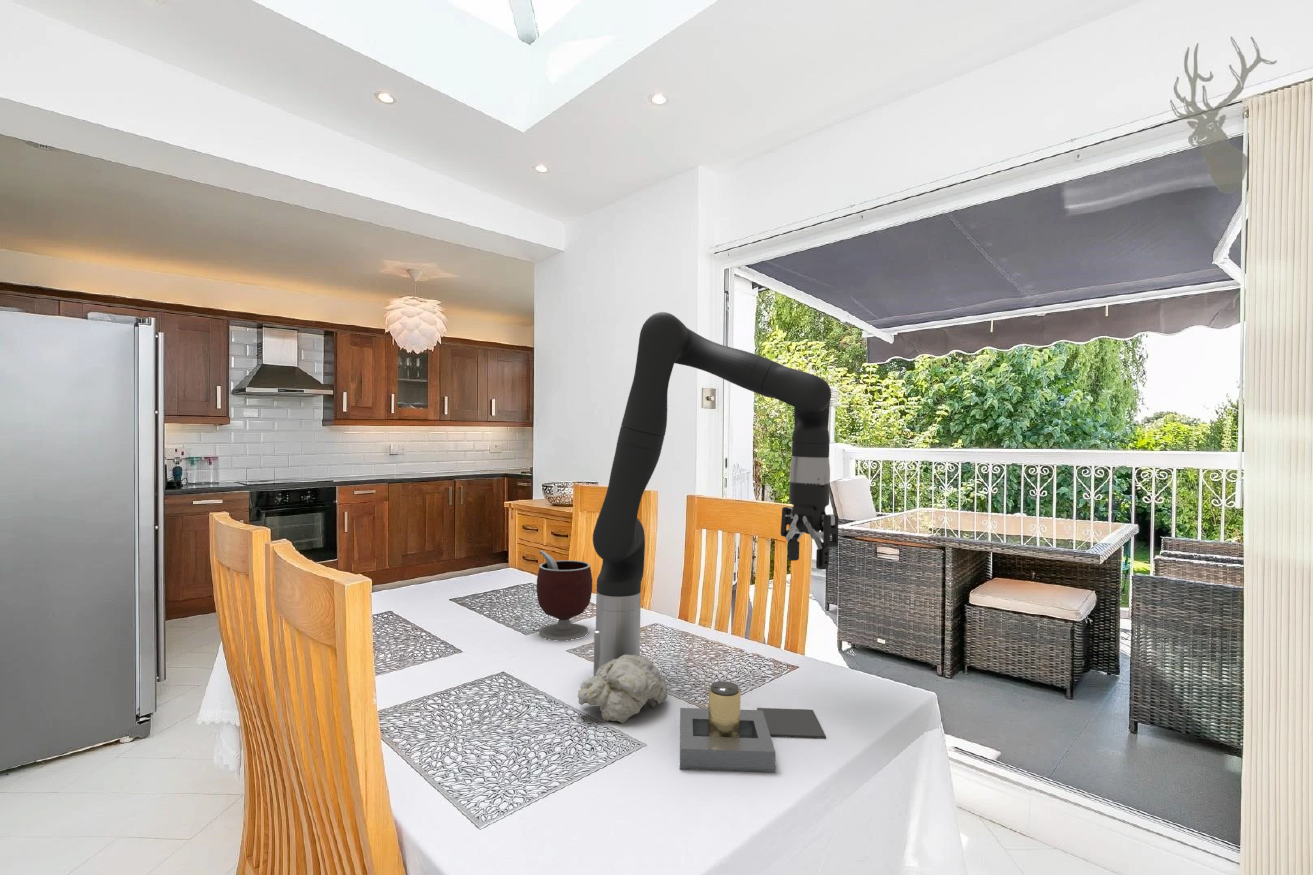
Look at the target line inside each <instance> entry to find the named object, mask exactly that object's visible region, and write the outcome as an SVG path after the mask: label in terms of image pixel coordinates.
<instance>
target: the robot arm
mask: <svg viewBox="0 0 1313 875" xmlns="http://www.w3.org/2000/svg"><path fill="white" fill-rule="evenodd" d="M635 361H636V362H635V368H634V370H635V371H634V375H633V379H632V383H631V387H630V390H629V395H628V398H627V402H626V406H625V409H624V413H623V417H622V420H621V421H622V422H621V424H620V428H619V431H618V432H619V433H618V436H617V441H616V445H615V446H616V448H615V450H614V451H615V453H614V456H613V461H612V466H611V469H610V475H609V481H608V486H607V490H606V494H605V496H604V497H605V498H604V500H603V503H602V506H601V507H600V508H601V509H600V512H599V515H598V518H597V519H596V522H595V526H594V529H593V531H592V532H593V533H592V544H593V548H594V551H595V553H596V555H598V557H599V558H600V559H602V564H601V568H600V572H599V574H598V576H597V579H596V596H595V600H596V602H595V603H596V604H595V607H596V608H595V629H594V632H593V633H594V634H593V635H594V636H593V676H595V675H596V673H597V670H598V669H599V668H600V667H601V666H603V665H605V664H606V663H608V662H610V661H611V660H613V659H618V658H619V657H621V656H623V655H625V654H626V655H636V656H639V655H640V654H641V604H642V603H641V602H642V601H641V600H642V599H641V598H642V597H641V596H642V593H641V592H642V588H641V587H642V580H643V577H644V572H645V571H644V570H645V550H646V548H645V546H646V536H645V535H646V534H645V530H644V527H643V524H642V522H641V521H640V520H639V519H638V514H639V510H640V506H641V501H642V498H643V495H644V493H645V490H646V487H647V486H648V484H649V482H650V480H651V478H652V476H653V474H654V472H655V469H656V467H657V464H658V462H659V459H660V456H661V453H662V449H663V444H664V441H665V436H666V433H667V432H666V431H667V424H668V393H669V392H668V390H669V385H670V384H669V383H670V379H671V376H672V373H673V368H674V365H675V364H677V365H681V366H686V367H691V368H694V369H698V370H701V371H704V372H707V373H709V374H711V375H713V376H714V375H715V376H716V377H718V378H721V379H722V380H725V381H727V382H729V383H731V384H734V385H736V386H738V387H740V388H742V389H745V390H748V391H750V392H753V393H756V394H758V395H761V396H763V397H766V398H770V399H775V400H778V401H781V402H782V403H785V404H787V405H789V406H792V407H793V420H794V422H793V423H794V426H793V427H794V428H793V432H792V439H791V440H792V442H791V460H790V461H791V462H790V466H789V467H790V468H789V494H788V495H789V496H788V502H789V504H790V505H792V506H783V507H782V508H781V522H780V524H781V525H780V535H781V537H783V538H785V539H786V541H787V559H788V561H791V562H792V561H799V559H800V541H799V540H800V539H801V537H802V536H803V534H808V535H809V536H810V538H811V539H812V540H814V543H815V545H816V547H817V549H816V554H815V555H816V557H815V559H816V560H815V562H816V563H815V565H816V566H815V567H816V569H817V570H820V571H821V570H827V569H828V568H829V565H830V550H831V549H832V548H837V547H839V516H838V514H827V513H826V508H827V507H828V506H829V505H830V491H831V490H830V486H831V485H830V484H831V466H830V445H831V444H830V432H829V421H830V405H831V398H832V390H831V387H830V385H829V383H828V382H827V381H826V380H825V379H823V378H822V377H820V376H817V375H815V374H812V373H809V372H807V371H806V372H805V371H803V370H799V369H796V368H791V367H787V366H785V365H783V364H780V363H779V362H777V361H774V360H771V359H769V358H766V357H764V356H761V355H758V354H755V353H753V352H749V351H746V350H742V349H738V348H734V347H730V346H726V345H723V344H720V343H718V342H715V341H712V340H710V339H707V338H705V337H703V336H701V335H700V334H698V333H697V332H695V331H693V330H692V329H690V328H688V327H687V326H686V325H685V324H684V323H683V321H681V320H680V319H679V318H677V317H676V316H675V315H673V314H672V313H669V312H666V311H665V312H664V311H660V312H656V313H653V314H652V315H650V316H649V317H648V318H647V319H646V320H645V321H644V322H643V325H642V326H641V328H640V333H639V339H638V347H637V354H636V360H635ZM787 526H788V529H787ZM640 656H641V655H640Z"/></svg>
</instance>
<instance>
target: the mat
mask: <svg viewBox="0 0 1313 875" xmlns="http://www.w3.org/2000/svg"><path fill="white" fill-rule="evenodd" d="M756 710H763V713H764V717H765V720H766V723H767V726H768V730H769V733H770V736H771V738H795V739H797V738H799V739H801V738H803V739H804V738H805V739H827V736H826V733H825V731H824V729H823V727H822V726H821V724H820V722H819V719H818V718H817V716H816V713H815V711H814V710H813V709H806V708H805V709H804V708H779V707H778V708H776V707H775V708H772V707H771V708H770V707H768V708H767V707H756Z"/></svg>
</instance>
